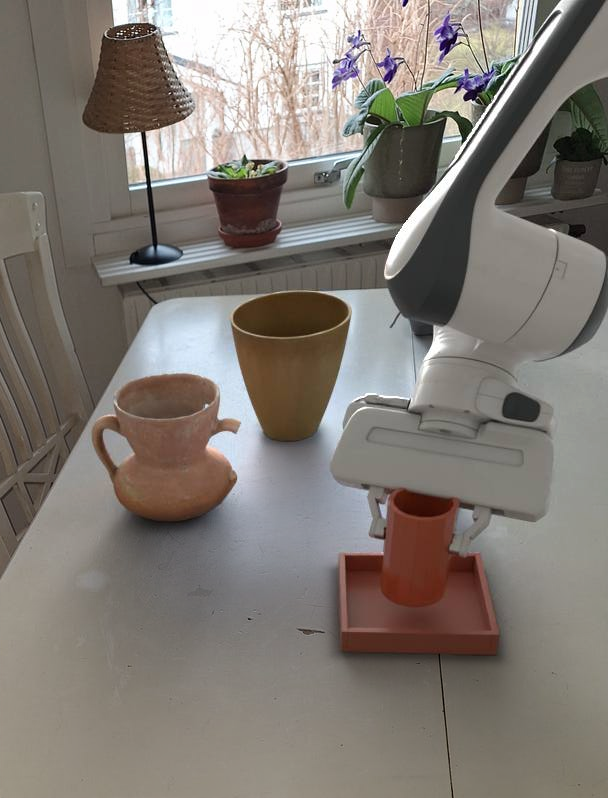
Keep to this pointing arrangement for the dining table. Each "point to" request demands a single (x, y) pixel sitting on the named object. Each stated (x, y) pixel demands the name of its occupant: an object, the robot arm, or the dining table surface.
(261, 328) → the plant pot
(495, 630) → the clay-red tray
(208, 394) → the ceramic jug
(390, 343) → the dining table surface
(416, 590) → the terracotta cup
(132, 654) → the dining table surface
